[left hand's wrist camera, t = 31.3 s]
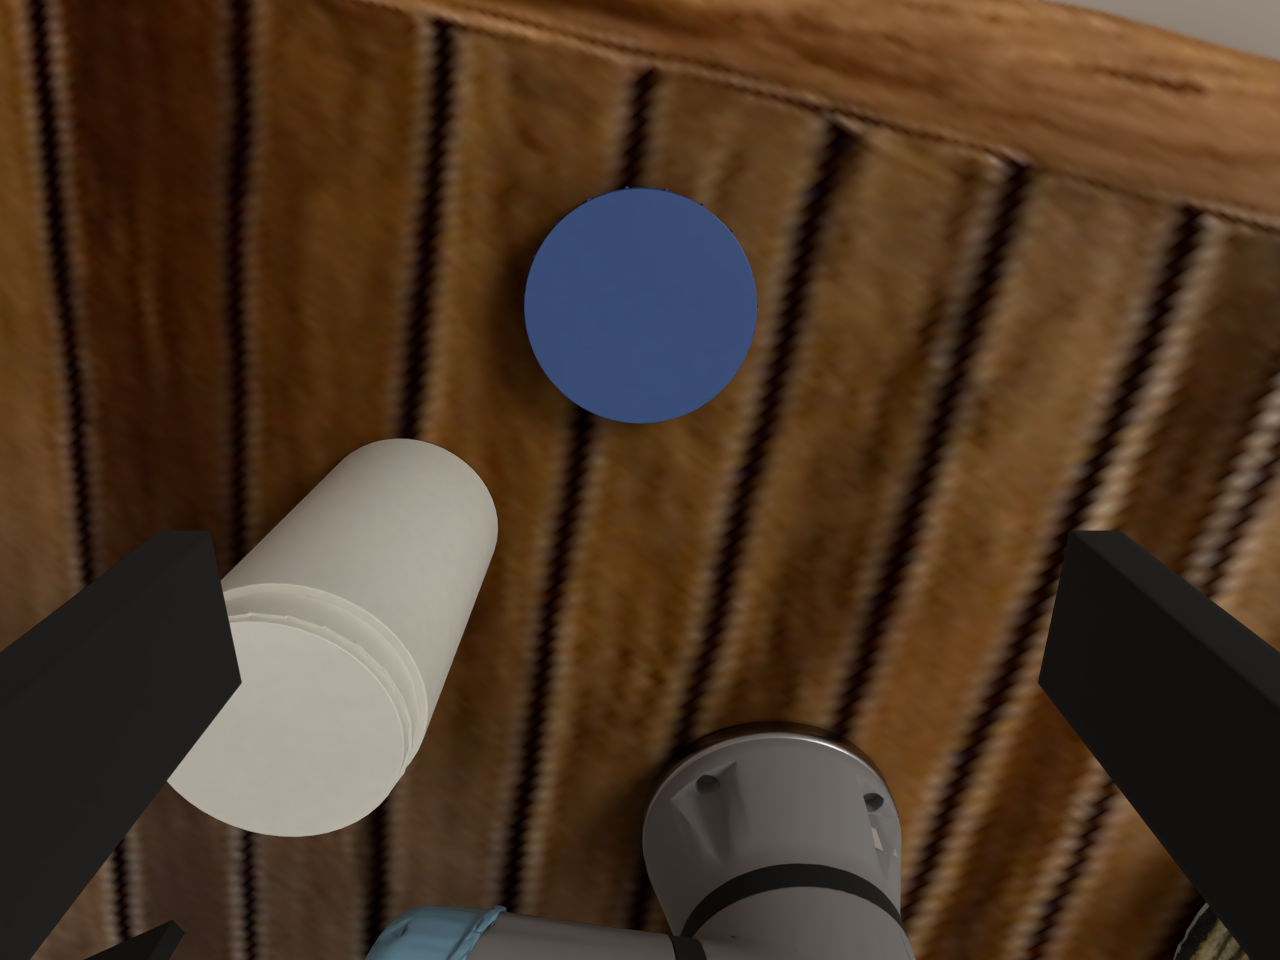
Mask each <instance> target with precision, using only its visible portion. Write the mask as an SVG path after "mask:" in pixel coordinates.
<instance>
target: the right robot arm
mask: <svg viewBox="0 0 1280 960" xmlns="http://www.w3.org/2000/svg"><path fill="white" fill-rule="evenodd" d="M184 933H185V932H184V931H183V930H182V929H181V928H180V927H179V926H178V925H177V924H176V923H175V922H174V921H173V920H171V921H169V922H167V923H165V924H163V925H160V926H158V927H156V928H154V929H151V930H149V931H147V932H145V933H142V934H140V935H138V936H136V937H134V938H131V939H129V940H127V941H125V942H122V943H120V944H118V945H116V946H113V947H111V948H109V949H107V950H104V951H102V952H100V953H98V954H96V955H93V956H91V957H89V958H87V959H84V960H169V958H170V957H171V955H172V953H173V952H174V950H175V948H176V947H177V945H178V943H179V942H180V940H181V938H182V937H183V935H184Z"/></svg>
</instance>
